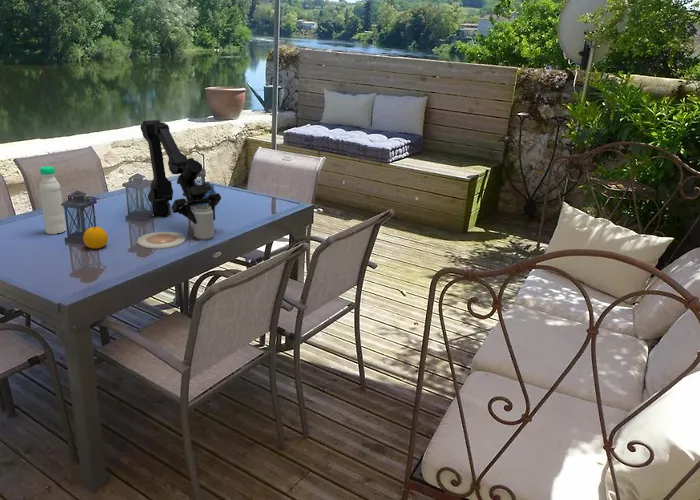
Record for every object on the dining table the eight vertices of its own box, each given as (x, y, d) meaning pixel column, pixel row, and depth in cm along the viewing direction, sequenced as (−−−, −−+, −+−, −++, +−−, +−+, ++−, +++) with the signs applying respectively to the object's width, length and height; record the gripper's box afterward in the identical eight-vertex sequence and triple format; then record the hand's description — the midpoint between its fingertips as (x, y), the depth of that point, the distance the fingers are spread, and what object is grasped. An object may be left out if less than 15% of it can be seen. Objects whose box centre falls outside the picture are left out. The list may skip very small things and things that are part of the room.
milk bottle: (70, 231, 219) (62, 166, 210) (54, 236, 213) (45, 170, 204) (57, 227, 222) (48, 164, 213) (41, 232, 216) (31, 167, 207)
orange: (82, 251, 200) (79, 230, 197) (87, 243, 207) (84, 223, 205) (106, 250, 202) (104, 230, 199) (110, 243, 209) (108, 223, 206)
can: (202, 241, 214) (201, 211, 210) (190, 237, 218) (188, 207, 214) (218, 237, 220) (217, 207, 216) (205, 232, 224) (204, 203, 220)
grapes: (208, 204, 261) (206, 178, 257) (219, 206, 258) (218, 180, 254) (190, 210, 252) (188, 183, 247) (202, 212, 249) (200, 185, 245)
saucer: (129, 247, 205) (129, 245, 205) (148, 232, 221) (148, 230, 221) (176, 250, 205) (176, 247, 204) (191, 235, 221) (191, 232, 220)
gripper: (172, 178, 208) (189, 214, 204) (218, 172, 220) (234, 206, 216) (164, 194, 216) (180, 230, 212) (208, 188, 228) (224, 221, 224)
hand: (205, 221), depth 216 cm, fingers closed on can, 7 cm apart
